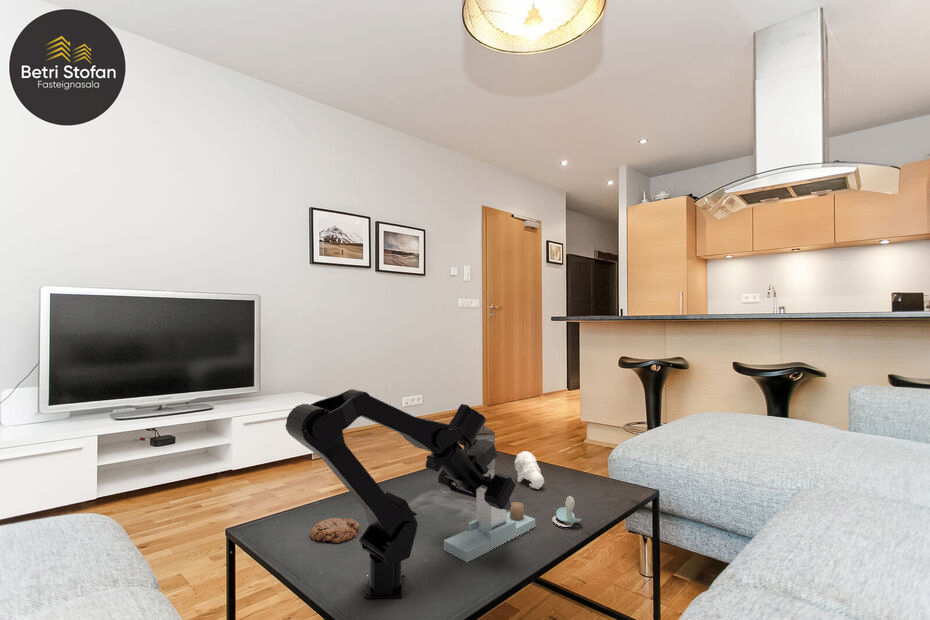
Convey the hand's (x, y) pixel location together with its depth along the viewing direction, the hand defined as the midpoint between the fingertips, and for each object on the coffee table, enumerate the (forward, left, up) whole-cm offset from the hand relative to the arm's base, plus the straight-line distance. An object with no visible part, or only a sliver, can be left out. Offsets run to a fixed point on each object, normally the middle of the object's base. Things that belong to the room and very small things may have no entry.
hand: (494, 502), depth 103 cm
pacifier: (+6, -18, -8) cm, 20 cm away
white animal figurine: (+32, -14, -8) cm, 36 cm away
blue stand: (-1, +1, -8) cm, 8 cm away
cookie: (+3, +36, -8) cm, 37 cm away
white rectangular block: (-1, +1, -6) cm, 6 cm away
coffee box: (+33, +1, -8) cm, 34 cm away
